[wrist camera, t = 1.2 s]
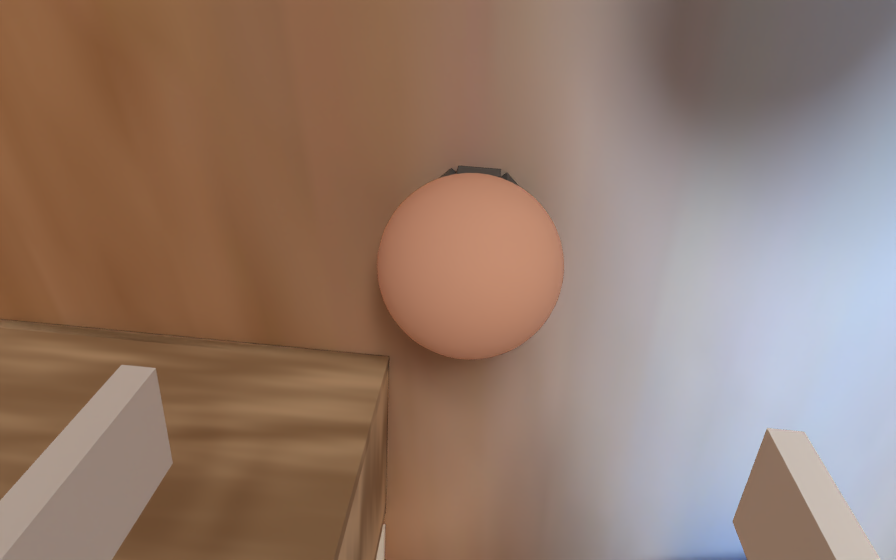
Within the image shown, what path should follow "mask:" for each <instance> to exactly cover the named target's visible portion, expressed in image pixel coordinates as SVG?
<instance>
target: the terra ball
mask: <svg viewBox="0 0 896 560" xmlns="http://www.w3.org/2000/svg"><path fill="white" fill-rule="evenodd" d="M377 272H378V282H379V287H380V291H381V294H382V297H383V300H384V302H385V305H386V307H387V309H388V311H389V313H390V315H391V316H392V317H393V319H394V320H395V322H396V323H397V324H398V326H399V327H400V328H401V329H402V330H403V331H404V332H405V333H406V334H407V335H408V336H409V337H410V338H411V339H413V340H414V341H415V342H417V343H418V344H420V345H421V346H423V347H425V348H427V349H429V350H431V351H433V352H435V353H438V354H440V355H443V356H447V357H451V358H457V359H470V360H472V359H483V358H489V357H494V356H497V355H500V354H503V353H506V352H508V351H511V350H513V349H514V348H516V347H518V346H520V345H521V344H523V343H524V342H525V341H527V340H528V339H529V338H531V337H532V336H533V335H534V334H535V333H536V332H537V331H538V330H539V329H540V328H541V327H542V326H543V324H544V323H545V322H546V320H547V319H548V317H549V316H550V314H551V312H552V311H553V309H554V307H555V305H556V302H557V300H558V297H559V294H560V291H561V286H562V282H563V274H564V259H563V250H562V245H561V241H560V238H559V235H558V233H557V230H556V227H555V225H554V223H553V221H552V220H551V218H550V216H549V215H548V213H547V212H546V211H545V209H544V208H543V207H542V205H541V204H540V203H539V202H538V201H537V200H536V199H535V198H534V197H533V196H532V195H531V194H529V193H528V192H527V191H525V190H524V189H523V188H521V187H519V186H517V185H516V184H514V183H512V182H510V181H507V180H505V179H503V178H500V177H496V176H492V175H488V174H481V173H461V174H453V175H449V176H444V177H441V178H438V179H436V180H433V181H431V182H429V183H427V184H425V185H423V186H422V187H420V188H419V189H417V190H416V191H415V192H413V193H412V194H411V195H409V196H408V197H407V198H406V199H405V200H404V201H403V202H402V203H401V204H400V205H399V207H398V208H397V209H396V211H395V212H394V213H393V215H392V217H391V218H390V220H389V222H388V224H387V225H386V227H385V230H384V232H383V235H382V238H381V242H380V246H379V250H378V258H377Z"/></svg>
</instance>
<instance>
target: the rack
mask: <svg viewBox="0 0 896 560" xmlns="http://www.w3.org/2000/svg"><path fill="white" fill-rule="evenodd" d="M121 365H130V366H140V367H151V368H156V372H157V377H158V383H159V389H160V394H161V400H162V405H163V411H164V416H165V422H166V428H167V433H168V439H169V444H170V450H171V455H172V461H173V464H172V465H171V467H170V468H169V470H168V472H167V473H166V475H165V476H164V478H163V479H162V481H161V483H160V484H159V486H158V487H157V489H156V491H155V492H154V494H153V495H152V497H151V498H150V500H149V502H148V503H147V505H146V506H145V508H144V510H143V511H142V513H141V514H140V516H139V518H138V519H137V521H136V522H135V524H134V525H133V527H132V529H131V530H130V532H129V533H128V535H127V537H126V538H125V540H124V541H123V543H122V544H121V546H120V548H119V549H118V551H117V552H116V554H115V556H114V557H113V559H112V560H376V557H377V552H378V547H379V542H380V537H381V533H382V528H383V523H384V518H385V513H386V480H387V431H388V382H389V356H379V355H369V354H359V353H348V352H338V351H327V350H317V349H306V348H296V347H285V346H275V345H264V344H254V343H244V342H233V341H223V340H212V339H202V338H191V337H181V336H170V335H160V334H150V333H139V332H129V331H118V330H108V329H97V328H87V327H76V326H66V325H55V324H45V323H35V322H24V321H14V320H3V319H0V500H1V499H2V498H3V497H4V496H5V495H6V493H7V492H8V491H9V490H10V489H11V488H12V487H13V486H14V484H15V483H16V482H17V481H18V480H19V479H20V478H21V477H22V475H23V474H24V473H25V472H26V471H27V470H28V469H29V468H30V467H31V465H32V464H33V463H34V462H35V461H36V460H37V459H38V458H39V456H40V455H41V454H42V453H43V452H44V451H45V450H46V449H47V448H48V446H49V445H50V444H51V443H52V442H53V441H54V440H55V439H56V437H57V436H58V435H59V434H60V433H61V432H62V431H63V430H64V428H65V427H66V426H67V425H68V424H69V423H70V422H71V421H72V420H73V418H74V417H75V416H76V415H77V414H78V413H79V412H80V411H81V409H82V408H83V407H84V406H85V405H86V404H87V403H88V402H89V401H90V399H91V398H92V397H93V396H94V395H95V394H96V393H97V392H98V390H99V389H100V388H101V387H102V386H103V385H104V384H105V383H106V381H107V380H108V379H109V378H110V377H111V376H112V375H113V374H114V373H115V371H116V370H117V369H118V368H119V367H120V366H121Z"/></svg>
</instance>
